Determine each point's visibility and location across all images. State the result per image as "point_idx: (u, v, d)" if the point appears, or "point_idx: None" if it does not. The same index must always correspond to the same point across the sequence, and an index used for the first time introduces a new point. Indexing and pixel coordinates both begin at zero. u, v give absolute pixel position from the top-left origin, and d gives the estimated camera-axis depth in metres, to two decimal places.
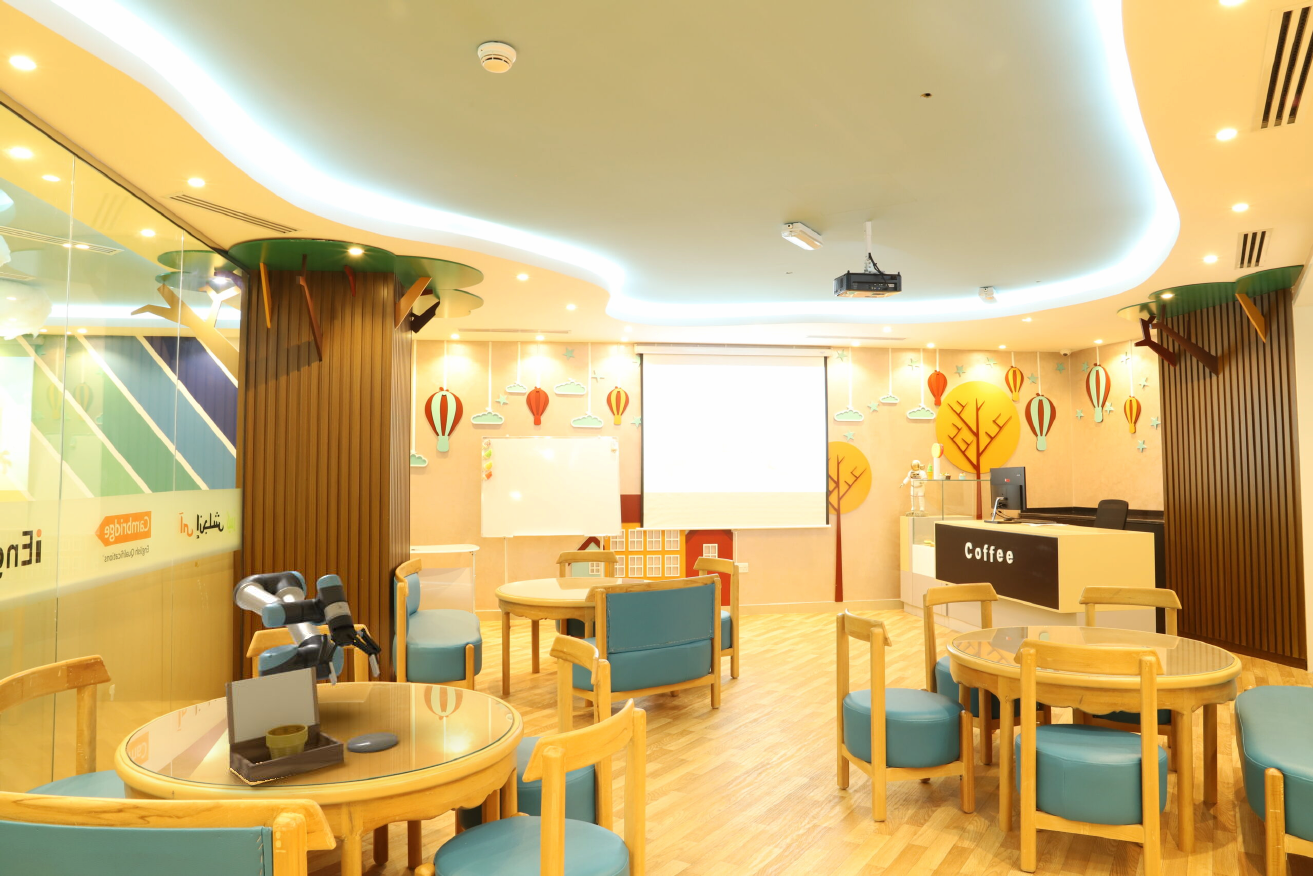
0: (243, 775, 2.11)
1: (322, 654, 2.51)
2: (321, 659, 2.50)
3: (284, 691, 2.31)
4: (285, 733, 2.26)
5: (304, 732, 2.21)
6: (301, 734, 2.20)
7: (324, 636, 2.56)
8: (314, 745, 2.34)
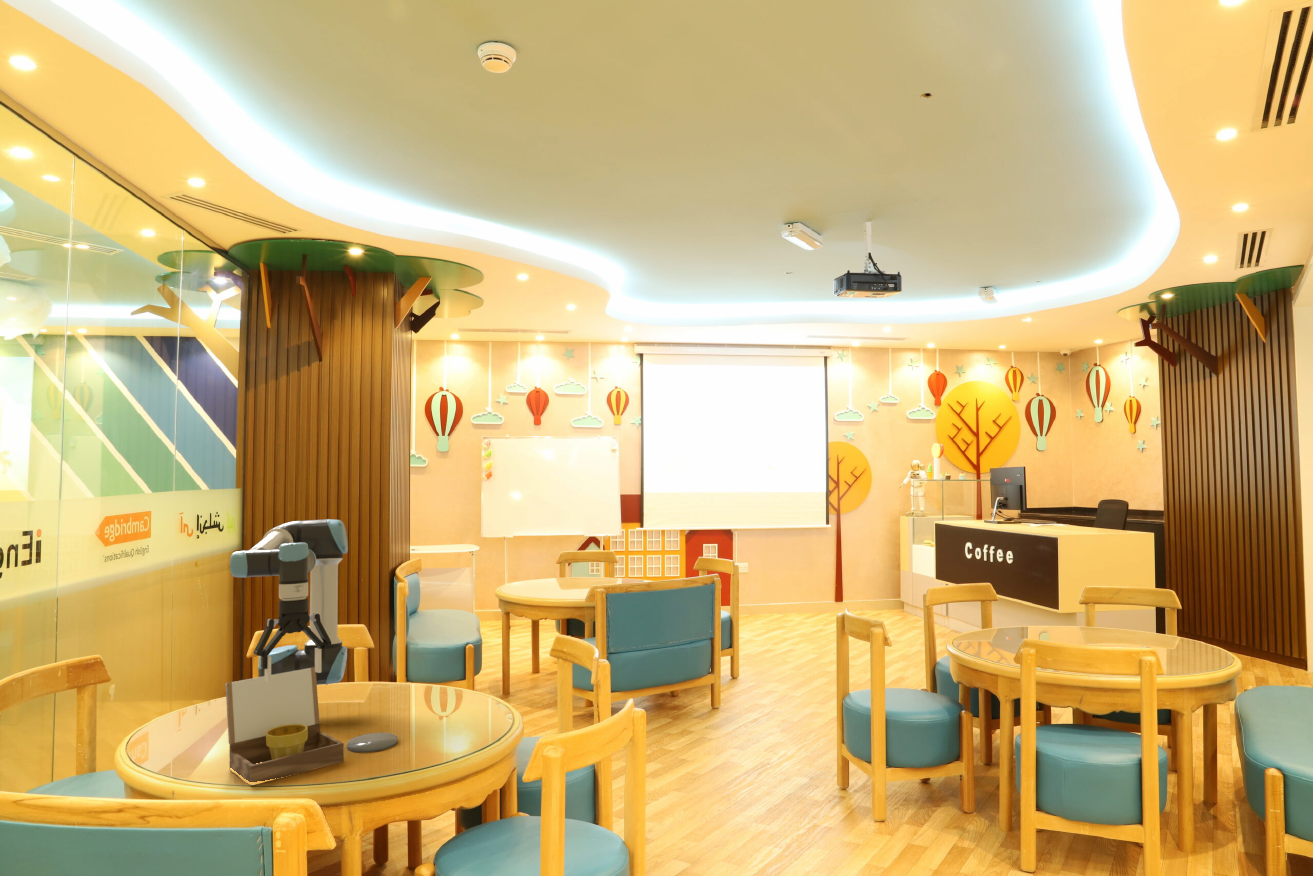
0: (243, 775, 2.11)
1: (262, 646, 2.18)
2: (259, 652, 2.17)
3: (284, 691, 2.31)
4: (285, 733, 2.26)
5: (304, 732, 2.21)
6: (301, 734, 2.20)
7: (270, 623, 2.20)
8: (314, 745, 2.34)
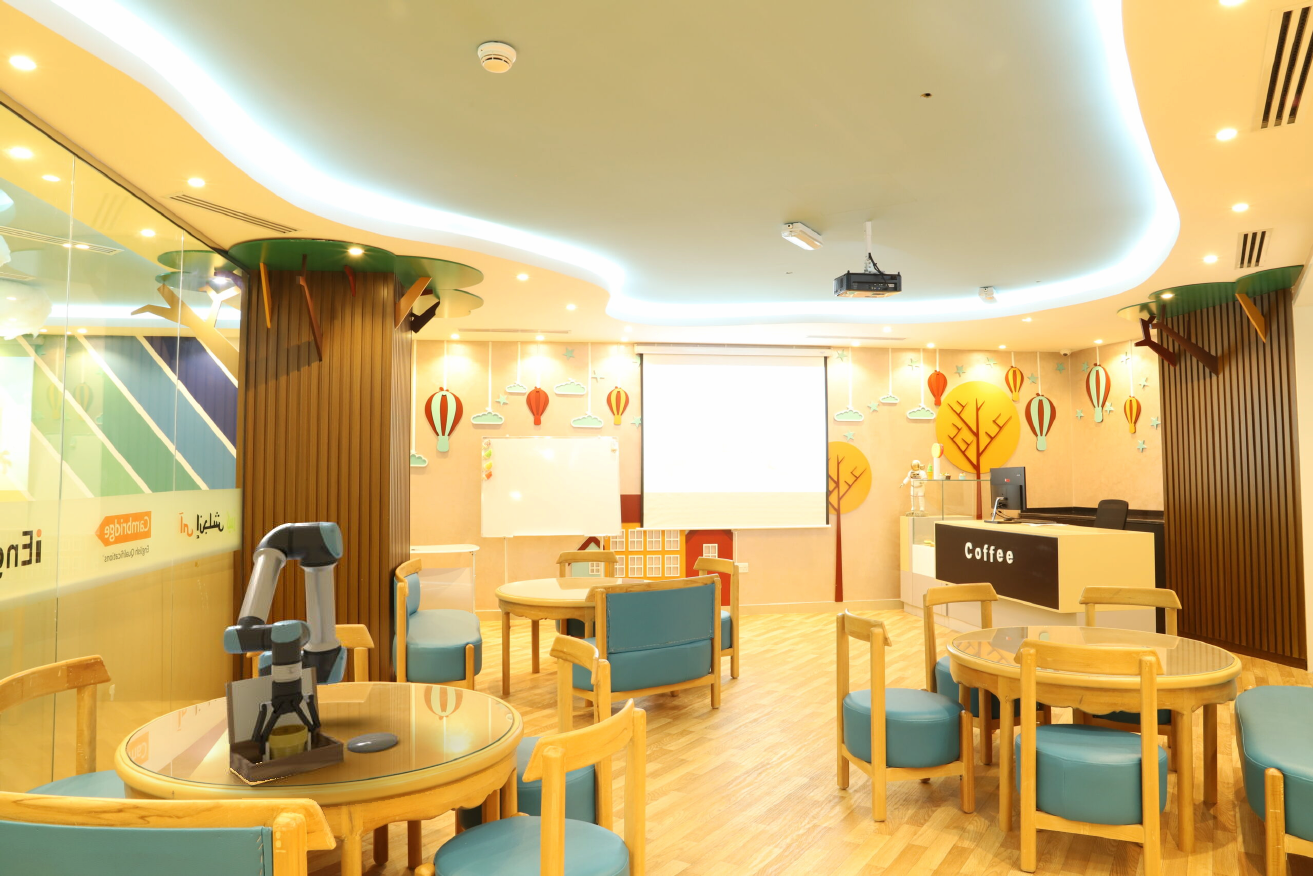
0: (243, 775, 2.11)
1: (259, 732, 2.16)
2: (257, 739, 2.15)
3: None
4: (285, 733, 2.26)
5: (304, 732, 2.21)
6: (301, 734, 2.20)
7: (263, 708, 2.17)
8: (314, 745, 2.34)
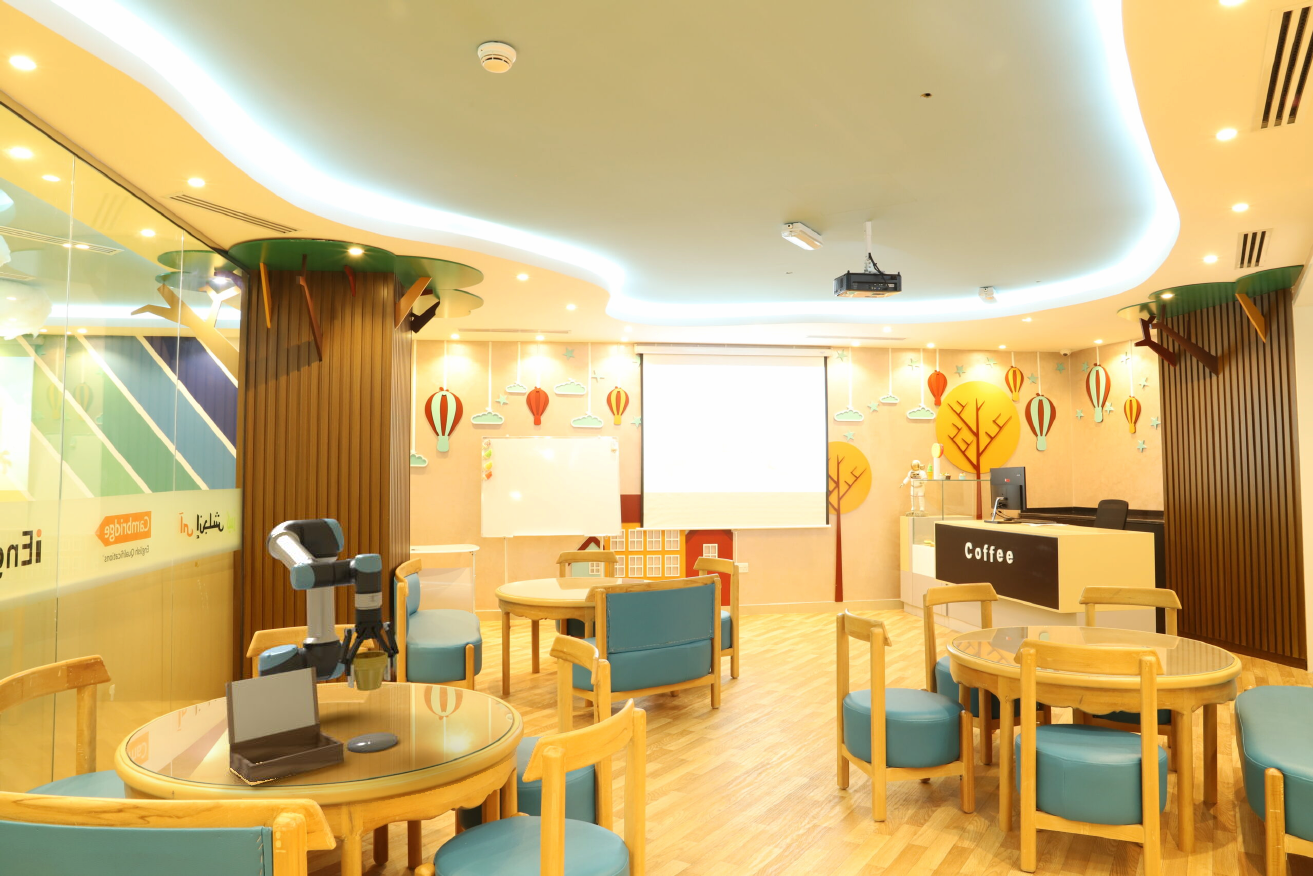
0: (243, 775, 2.11)
1: (345, 655, 2.32)
2: (343, 661, 2.32)
3: (284, 691, 2.31)
4: (366, 659, 2.42)
5: (385, 656, 2.38)
6: (382, 658, 2.36)
7: (348, 632, 2.33)
8: (314, 745, 2.34)
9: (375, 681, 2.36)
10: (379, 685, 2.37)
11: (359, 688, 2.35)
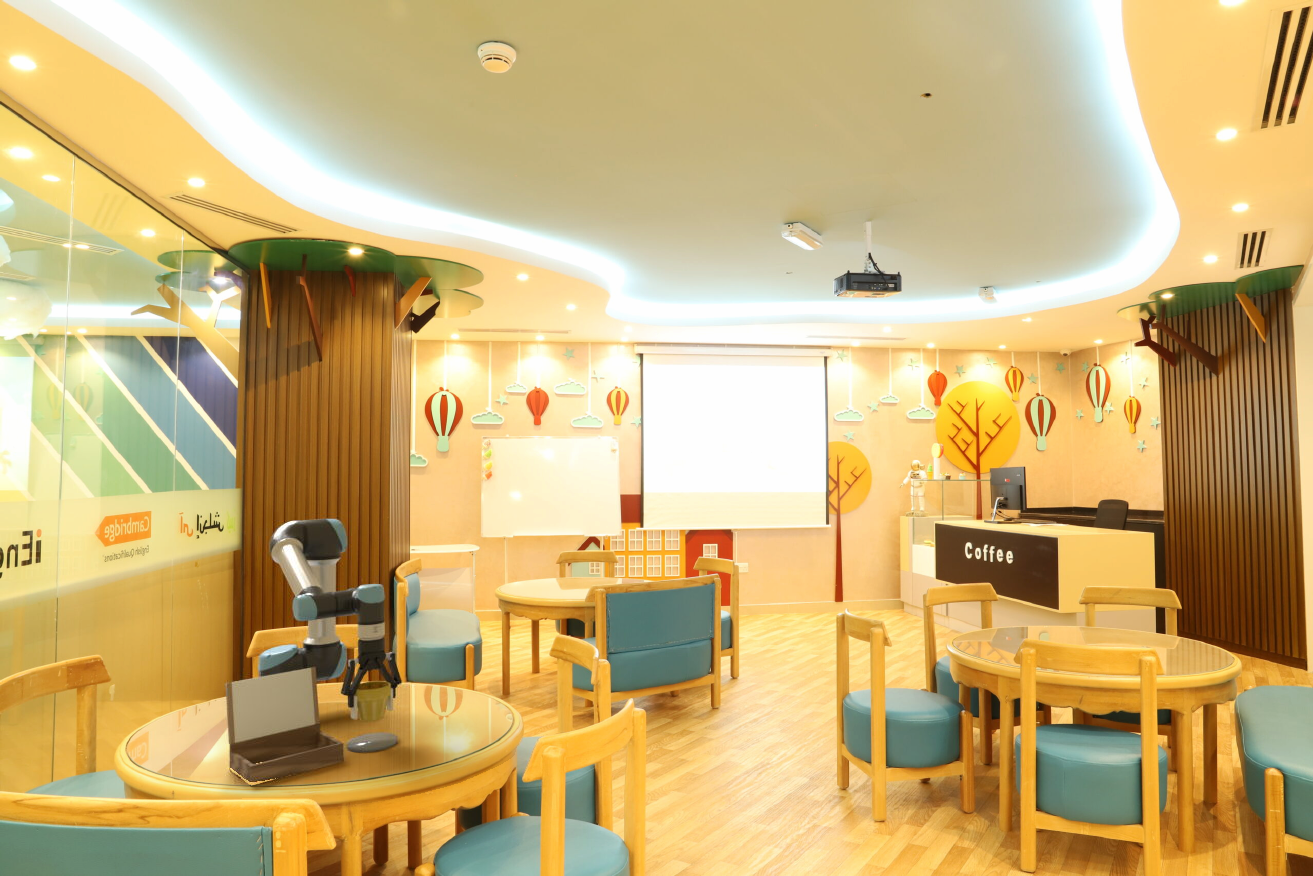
0: (243, 775, 2.11)
1: (348, 686, 2.32)
2: (347, 692, 2.32)
3: (284, 691, 2.31)
4: (369, 689, 2.42)
5: (388, 687, 2.38)
6: (386, 689, 2.37)
7: (351, 664, 2.34)
8: (314, 745, 2.34)
9: (379, 712, 2.36)
10: (382, 716, 2.37)
11: (362, 719, 2.35)
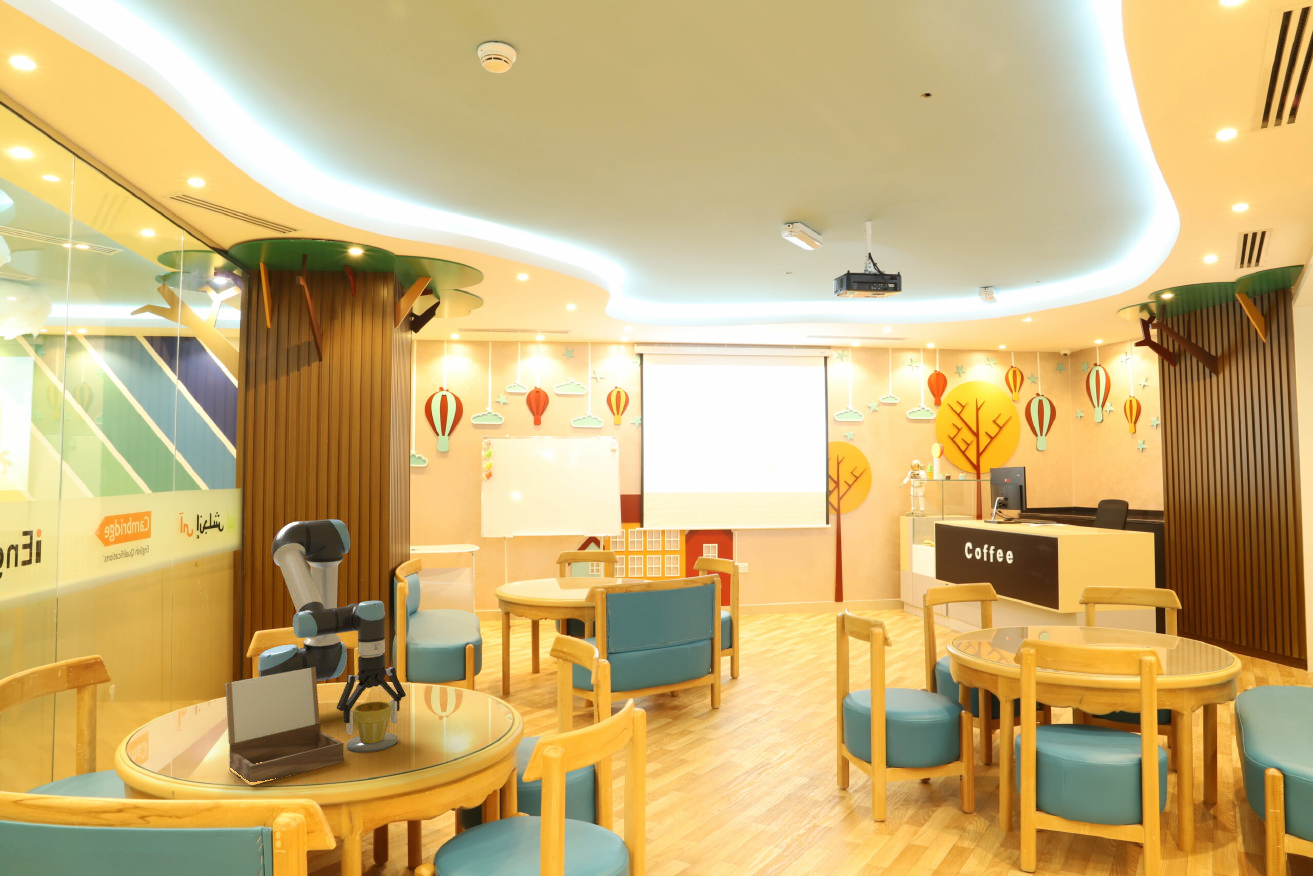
0: (243, 775, 2.11)
1: (345, 702, 2.32)
2: (342, 708, 2.31)
3: (284, 691, 2.31)
4: (369, 709, 2.42)
5: (389, 709, 2.37)
6: (386, 710, 2.36)
7: (351, 679, 2.33)
8: (314, 745, 2.34)
9: (379, 734, 2.36)
10: (382, 737, 2.37)
11: (362, 740, 2.35)
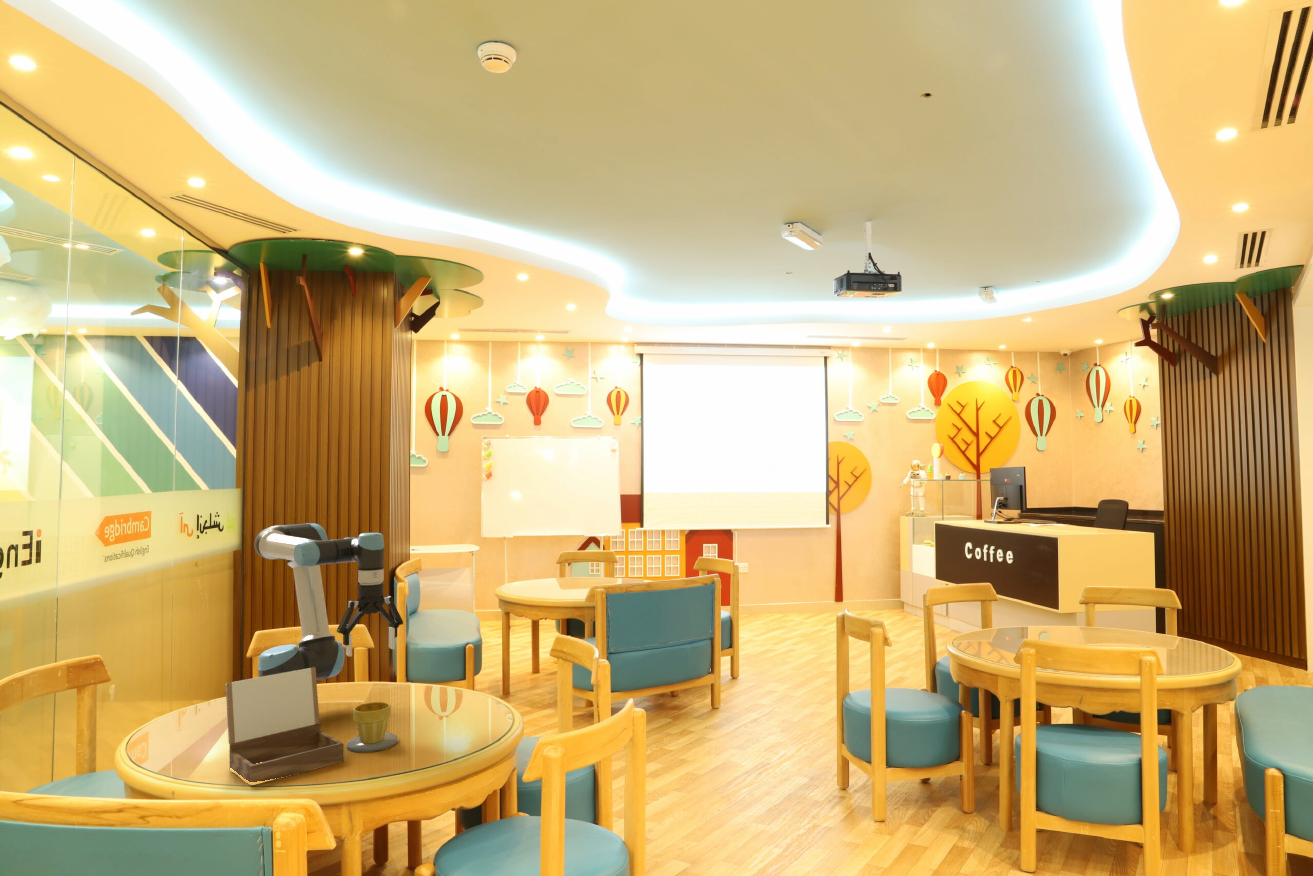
0: (243, 775, 2.11)
1: (344, 625, 2.45)
2: (342, 631, 2.44)
3: (284, 691, 2.31)
4: (369, 710, 2.42)
5: (388, 708, 2.38)
6: (386, 710, 2.36)
7: (351, 604, 2.46)
8: (314, 745, 2.34)
9: (379, 734, 2.36)
10: (382, 737, 2.37)
11: (362, 741, 2.35)
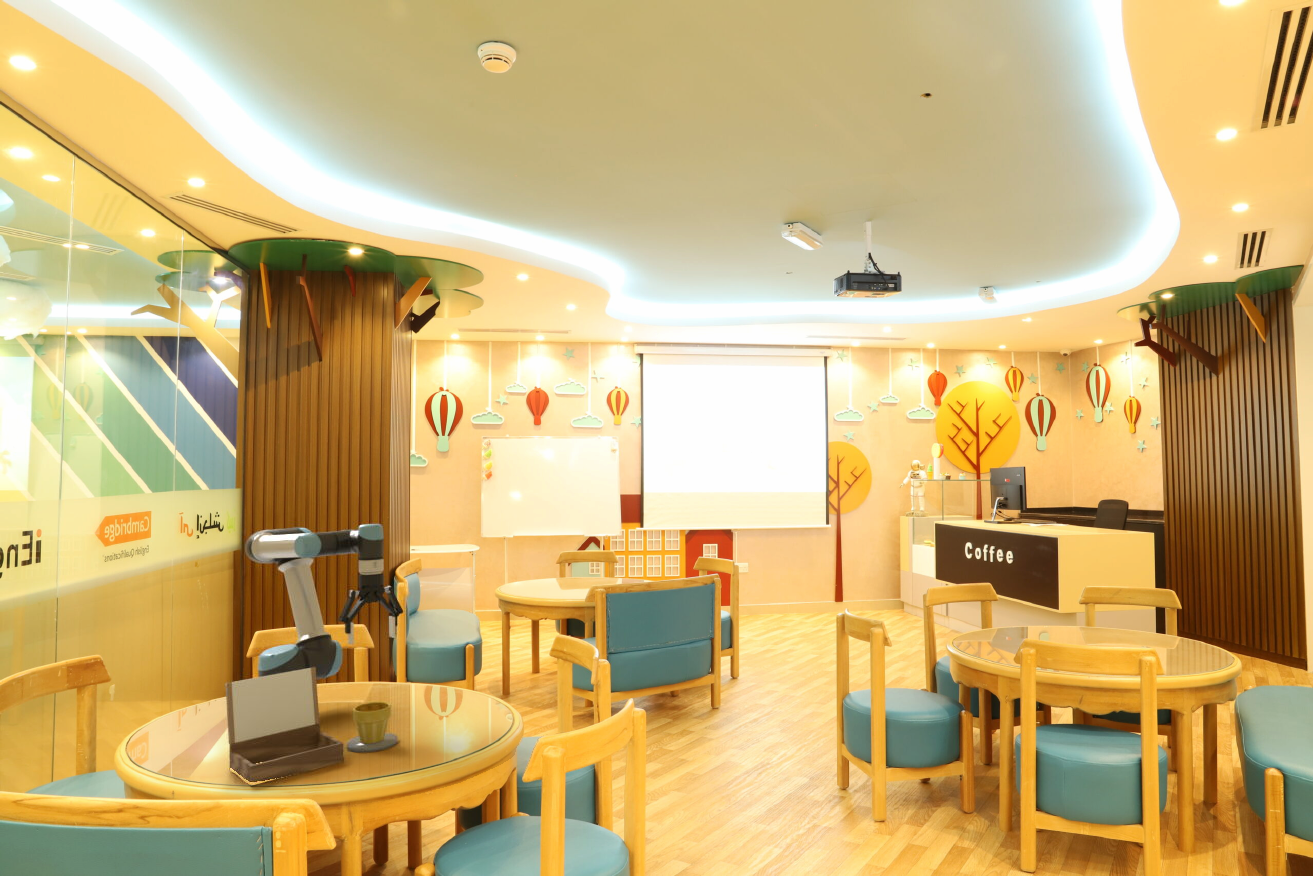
0: (243, 775, 2.11)
1: (346, 614, 2.50)
2: (344, 619, 2.50)
3: (284, 691, 2.31)
4: (369, 710, 2.42)
5: (388, 708, 2.38)
6: (386, 710, 2.36)
7: (352, 594, 2.52)
8: (314, 745, 2.34)
9: (379, 734, 2.36)
10: (382, 737, 2.37)
11: (362, 741, 2.35)
